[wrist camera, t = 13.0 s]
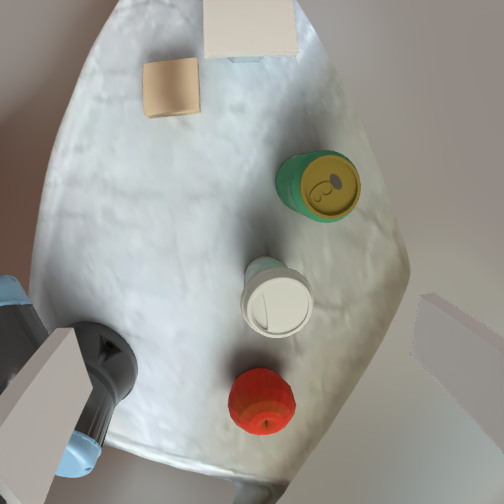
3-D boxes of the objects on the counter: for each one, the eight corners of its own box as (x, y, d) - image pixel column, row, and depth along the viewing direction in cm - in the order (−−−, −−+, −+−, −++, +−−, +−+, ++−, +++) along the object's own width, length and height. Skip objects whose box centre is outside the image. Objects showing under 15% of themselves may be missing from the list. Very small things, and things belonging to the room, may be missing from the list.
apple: (217, 394, 52) (219, 441, 40) (243, 349, 50) (250, 394, 39) (269, 409, 54) (280, 455, 42) (297, 368, 52) (315, 412, 41)
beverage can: (339, 189, 45) (377, 196, 34) (296, 222, 46) (322, 239, 34) (308, 143, 43) (339, 135, 32) (262, 176, 44) (279, 177, 32)
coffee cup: (249, 237, 46) (261, 260, 34) (302, 259, 47) (330, 287, 36) (226, 291, 47) (229, 329, 36) (278, 310, 49) (296, 350, 37)
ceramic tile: (204, 58, 33) (204, 53, 32) (203, -11, 31) (202, -18, 29) (294, 57, 34) (298, 51, 33) (287, -11, 32) (290, -18, 30)
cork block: (150, 118, 40) (143, 113, 36) (149, 72, 38) (143, 63, 34) (200, 113, 41) (199, 107, 37) (198, 66, 39) (197, 57, 35)
